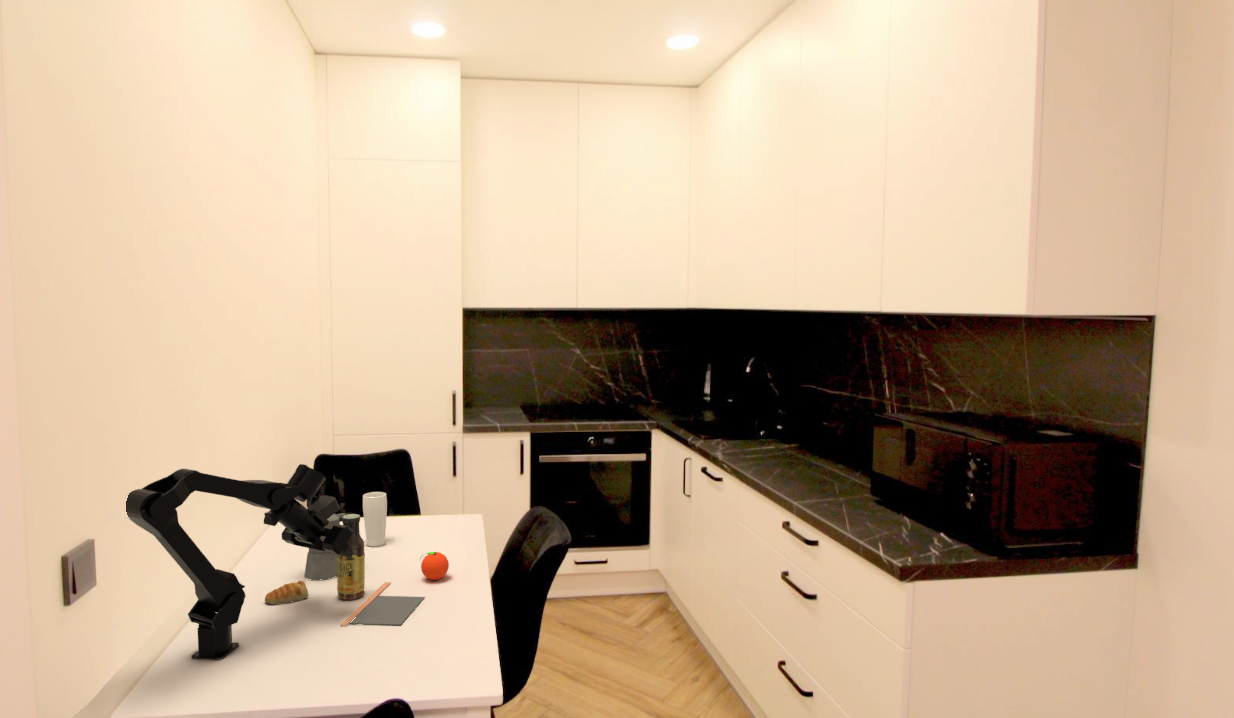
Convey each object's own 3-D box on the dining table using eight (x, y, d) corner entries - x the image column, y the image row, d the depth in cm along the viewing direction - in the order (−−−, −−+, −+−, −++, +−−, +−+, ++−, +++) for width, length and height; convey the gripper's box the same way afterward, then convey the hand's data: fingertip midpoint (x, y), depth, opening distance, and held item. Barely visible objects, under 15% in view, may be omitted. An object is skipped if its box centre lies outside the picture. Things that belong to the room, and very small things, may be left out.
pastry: (269, 609, 177) (269, 593, 177) (261, 601, 182) (260, 585, 182) (310, 599, 183) (310, 583, 183) (301, 591, 189) (300, 576, 188)
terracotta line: (346, 626, 167) (346, 624, 167) (340, 626, 167) (340, 624, 167) (390, 583, 193) (390, 582, 193) (385, 583, 193) (384, 582, 193)
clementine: (412, 582, 194) (411, 554, 193) (426, 573, 201) (426, 546, 200) (440, 585, 192) (439, 557, 191) (454, 575, 198) (453, 549, 198)
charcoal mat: (400, 625, 167) (400, 624, 167) (349, 624, 168) (349, 623, 168) (424, 598, 183) (424, 596, 183) (377, 597, 184) (377, 595, 184)
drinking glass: (362, 543, 227) (361, 493, 226) (386, 540, 229) (384, 490, 228) (365, 549, 220) (363, 498, 219) (389, 546, 223) (388, 495, 222)
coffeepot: (297, 584, 193) (294, 514, 191) (295, 573, 201) (292, 505, 200) (361, 574, 199) (359, 507, 198) (356, 564, 208) (354, 499, 207)
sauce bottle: (331, 598, 183) (329, 517, 182) (352, 589, 189) (349, 510, 187) (351, 603, 180) (349, 520, 179) (371, 594, 186) (369, 514, 184)
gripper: (344, 492, 170) (384, 527, 180) (290, 482, 179) (331, 517, 190) (316, 536, 164) (358, 570, 174) (261, 524, 173) (305, 557, 184)
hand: (338, 552), depth 181 cm, fingers open, 9 cm apart
